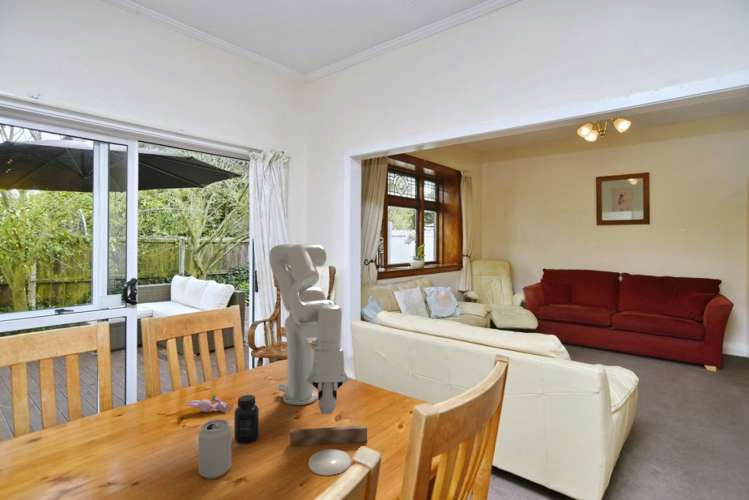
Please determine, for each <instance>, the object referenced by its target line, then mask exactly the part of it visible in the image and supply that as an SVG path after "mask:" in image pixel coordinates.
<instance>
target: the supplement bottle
mask: <svg viewBox="0 0 749 500" xmlns="http://www.w3.org/2000/svg"><path fill="white" fill-rule="evenodd" d="M259 412H260V410H259V407H258V405H257V404H256V397H255V395H253V394H245V395H241V396H239V397H238V399H237V407H236V408H235V410H234V412H233V413H234V416H233V418H234V419H233V422H234V426H233V427H234V431H233V432H234V441H235V442H236V443H238V444H243V445H244V444H250V443H253V442H255V441H257V439H258V438H259V435H260V427H259V426H260V423H259V422H260V420H259V419H260V416H259V415H260V413H259Z"/></svg>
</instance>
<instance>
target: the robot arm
mask: <svg viewBox="0 0 749 500" xmlns="http://www.w3.org/2000/svg"><path fill="white" fill-rule="evenodd" d="M268 258H269V265H270V269H271V271H272V273H273V275H274V277H275V279H276V280H277V282H278V286H279V291H280V296H281V298H282V303H283V307H284V309H285V311H287V312H288V313H291V314H290V315H288V316H287V317H286V319H285V321H284V328H285V329H284V330H285V336H286V343H287V344H286V345H287V346H286V347H287V348H286V349H287V357H286V358H287V367H286V368H287V376H286V377H287V380H286V381H287V382H286V383H287V384H285V383H279V384H278V392H283V393H284V394H283V395H282V401H283V402H284V403H285V404H288V405H291V406H292V405H293V406H305V405H309V404H311V403H314V402H315V401H317V400H318V401H319V400H320V403H321V398H322V394H323V392H322V383H334V388H333V397H334V395H335V399H336V400H337V395H338V393H337V391H338V390H339V388H340V387H341V386H342V385H344V384H346V383H347V382H349V380H350V379H349V376H348V374H347V373H346V371H345V353H344V349H343V347H341V346H342V317H343V316H342V315H343V314H342V313H343V311H342V308H341V306H340V305H337V304H335V303H334V302H333V301H332V300H330V299H327V298H326V295H325V293H324V290H322V288H320V287H317V286H315V285H316V284H317V283H318V281H319V279H320V274H319V271H318V269H317V267H318V268H319V267H323V266H325V264H326V262H327V252H326V250H325V248H324V247H323V246H322V245H320V244H310V243H309V244H306V243H305V244H301V243H300V244H297V243H295V244H294V243H293V244H291V243H290V244H286V243H285V244H278V245H275V246H274V245H273V247H272V248H271V249H270V251H269V257H268ZM312 338H316V339H315V340H312V341H311V343H310V342H309V341H308V339H312ZM313 346H314V347H315V348H314V347H313ZM314 388H315V389H316V390H317V391H316V390H315V389H314ZM320 396H321V398H320Z"/></svg>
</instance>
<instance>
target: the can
mask: <svg viewBox="0 0 749 500" xmlns="http://www.w3.org/2000/svg"><path fill="white" fill-rule="evenodd" d="M231 466H232V428H231V425H229V421H228V420H226V419H223V418H222V419H221V418H220V419H219V418H218V419H211V420H208V421H206V422H205V423H204V424H202V426H201V430H200V431H198V473H199V475H200V476H202V477H204V478H205V479H217V478H220V477H222V476H223V475H225V474H226V473H227V472H228V471H229V470H230V469H231Z"/></svg>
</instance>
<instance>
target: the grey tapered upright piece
mask: <svg viewBox="0 0 749 500" xmlns="http://www.w3.org/2000/svg"><path fill="white" fill-rule="evenodd" d="M333 388H334V383H322V392H323V394H322V398H321V396H320V398H321V403H320V400H318V403H317V405H318V408H319V410H320V412H321V414H324V415H330V414H333V412H334V411H335V408H336V407H337V399H335V395H334V397H333Z"/></svg>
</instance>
